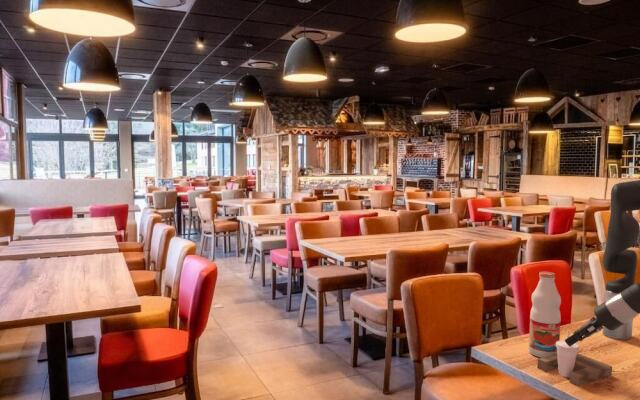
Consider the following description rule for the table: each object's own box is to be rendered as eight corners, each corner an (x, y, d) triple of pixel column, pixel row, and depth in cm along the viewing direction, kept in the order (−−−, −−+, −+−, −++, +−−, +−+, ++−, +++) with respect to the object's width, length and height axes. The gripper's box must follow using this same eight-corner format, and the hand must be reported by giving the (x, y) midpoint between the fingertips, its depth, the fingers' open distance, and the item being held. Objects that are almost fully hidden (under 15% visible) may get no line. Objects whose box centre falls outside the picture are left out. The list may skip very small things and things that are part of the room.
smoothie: (556, 377, 149) (559, 332, 148) (551, 369, 155) (554, 326, 154) (579, 380, 147) (582, 335, 146) (574, 371, 153) (576, 328, 152)
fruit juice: (552, 349, 172) (555, 270, 169) (563, 359, 162) (567, 276, 160) (524, 348, 172) (527, 269, 170) (534, 358, 163) (538, 275, 161)
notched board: (570, 359, 163) (570, 350, 163) (611, 375, 151) (612, 366, 150) (537, 367, 156) (537, 358, 155) (578, 386, 143) (578, 376, 143)
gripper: (612, 295, 147) (569, 323, 156) (600, 305, 137) (554, 334, 146) (632, 316, 144) (586, 344, 153) (621, 328, 134) (573, 357, 143)
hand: (571, 339), depth 149 cm, fingers open, 8 cm apart
